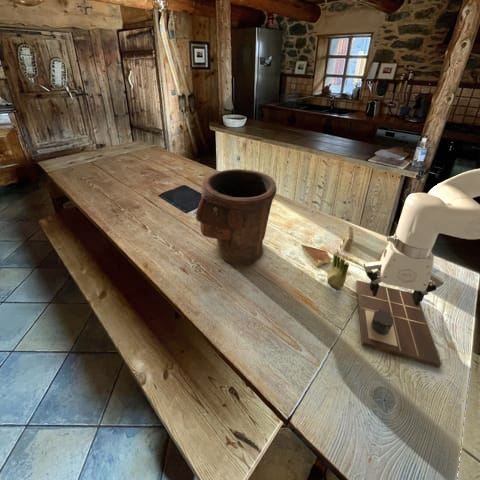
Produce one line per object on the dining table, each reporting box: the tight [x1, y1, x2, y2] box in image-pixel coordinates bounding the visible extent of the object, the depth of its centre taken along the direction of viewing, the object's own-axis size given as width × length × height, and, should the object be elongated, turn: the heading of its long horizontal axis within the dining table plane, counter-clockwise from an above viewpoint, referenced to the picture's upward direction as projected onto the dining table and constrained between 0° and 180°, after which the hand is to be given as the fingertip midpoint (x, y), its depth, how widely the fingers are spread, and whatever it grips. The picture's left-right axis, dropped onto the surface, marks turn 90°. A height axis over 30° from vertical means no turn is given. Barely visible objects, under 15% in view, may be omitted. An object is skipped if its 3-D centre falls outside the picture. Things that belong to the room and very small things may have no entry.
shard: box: [300, 244, 333, 267], centre depth 102 cm, size 11×8×2 cm
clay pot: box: [195, 168, 278, 266], centre depth 97 cm, size 25×29×30 cm
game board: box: [355, 280, 442, 369], centre depth 78 cm, size 18×22×2 cm
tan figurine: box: [336, 225, 354, 255], centre depth 106 cm, size 7×4×12 cm
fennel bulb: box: [326, 252, 350, 290], centre depth 87 cm, size 6×5×12 cm
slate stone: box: [371, 310, 394, 335], centre depth 73 cm, size 5×5×4 cm
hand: (393, 296), depth 69 cm, fingers open, 9 cm apart
